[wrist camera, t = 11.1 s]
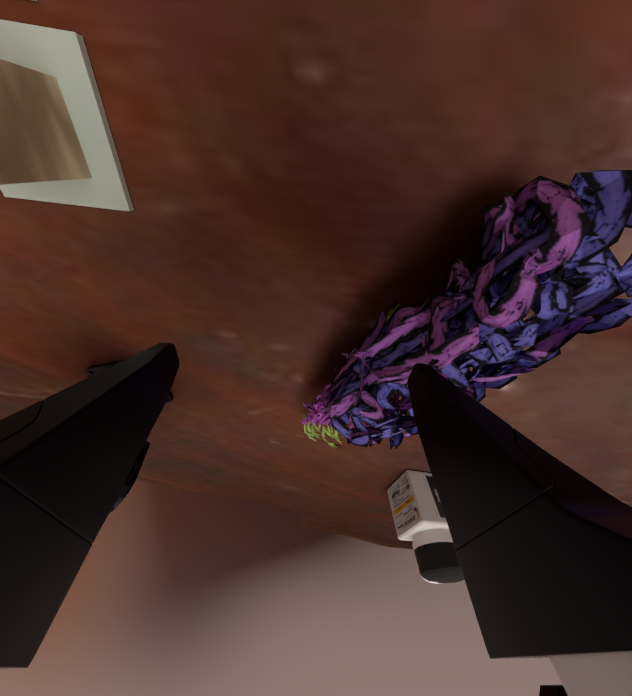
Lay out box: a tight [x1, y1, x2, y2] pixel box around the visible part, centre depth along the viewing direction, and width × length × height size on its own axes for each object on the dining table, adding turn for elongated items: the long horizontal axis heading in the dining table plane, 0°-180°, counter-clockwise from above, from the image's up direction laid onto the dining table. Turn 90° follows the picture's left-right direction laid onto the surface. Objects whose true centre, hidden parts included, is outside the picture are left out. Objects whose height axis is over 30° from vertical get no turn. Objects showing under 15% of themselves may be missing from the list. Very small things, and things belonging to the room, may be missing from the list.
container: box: [387, 470, 464, 584], centre depth 38 cm, size 8×8×13 cm
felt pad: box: [0, 20, 134, 211], centre depth 15 cm, size 8×8×1 cm
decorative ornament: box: [302, 170, 632, 449], centre depth 21 cm, size 13×11×30 cm
